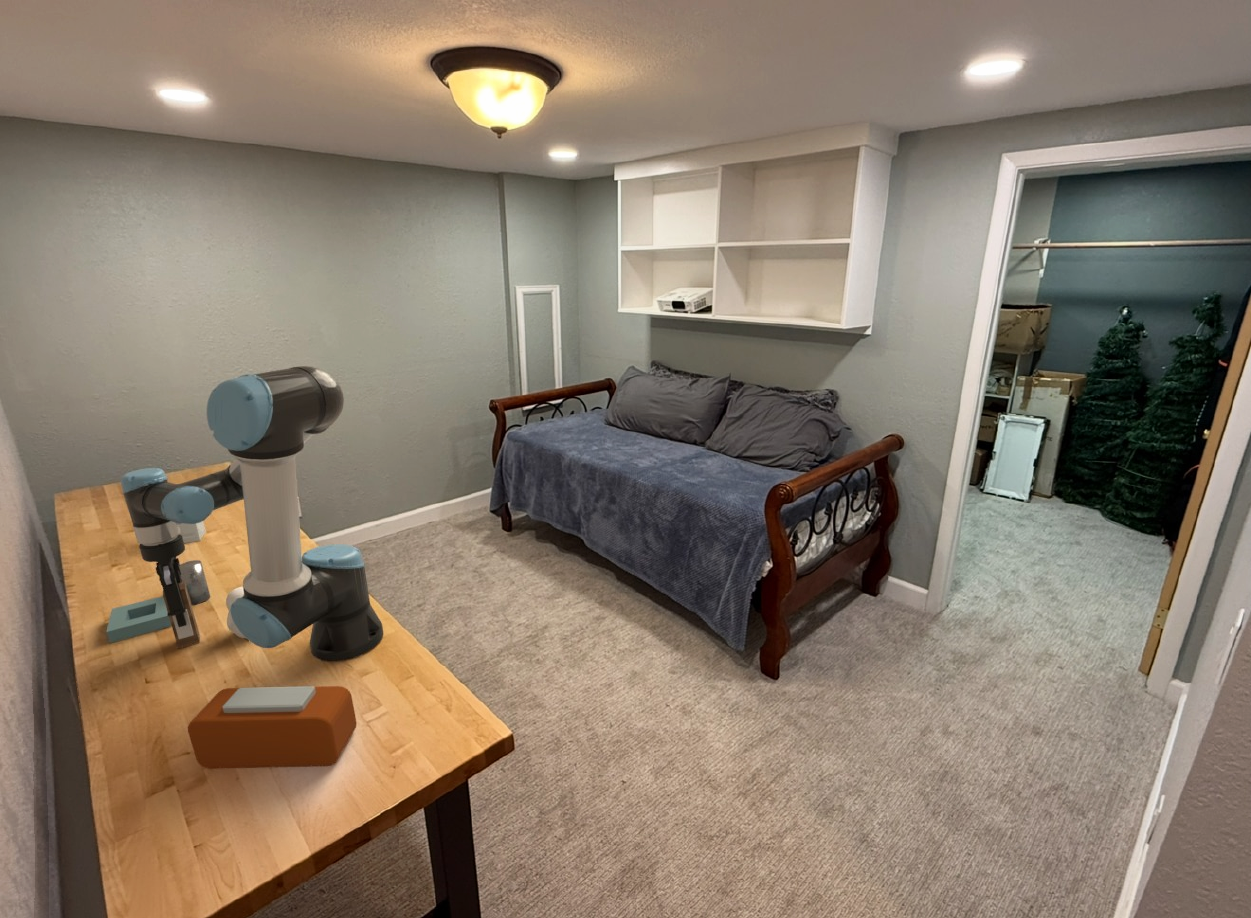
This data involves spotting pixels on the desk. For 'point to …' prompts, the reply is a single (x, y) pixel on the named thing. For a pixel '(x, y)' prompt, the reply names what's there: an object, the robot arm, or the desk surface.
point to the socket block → (137, 619)
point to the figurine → (229, 600)
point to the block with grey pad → (273, 727)
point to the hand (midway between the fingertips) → (186, 631)
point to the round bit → (195, 581)
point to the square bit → (188, 606)
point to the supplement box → (192, 532)
